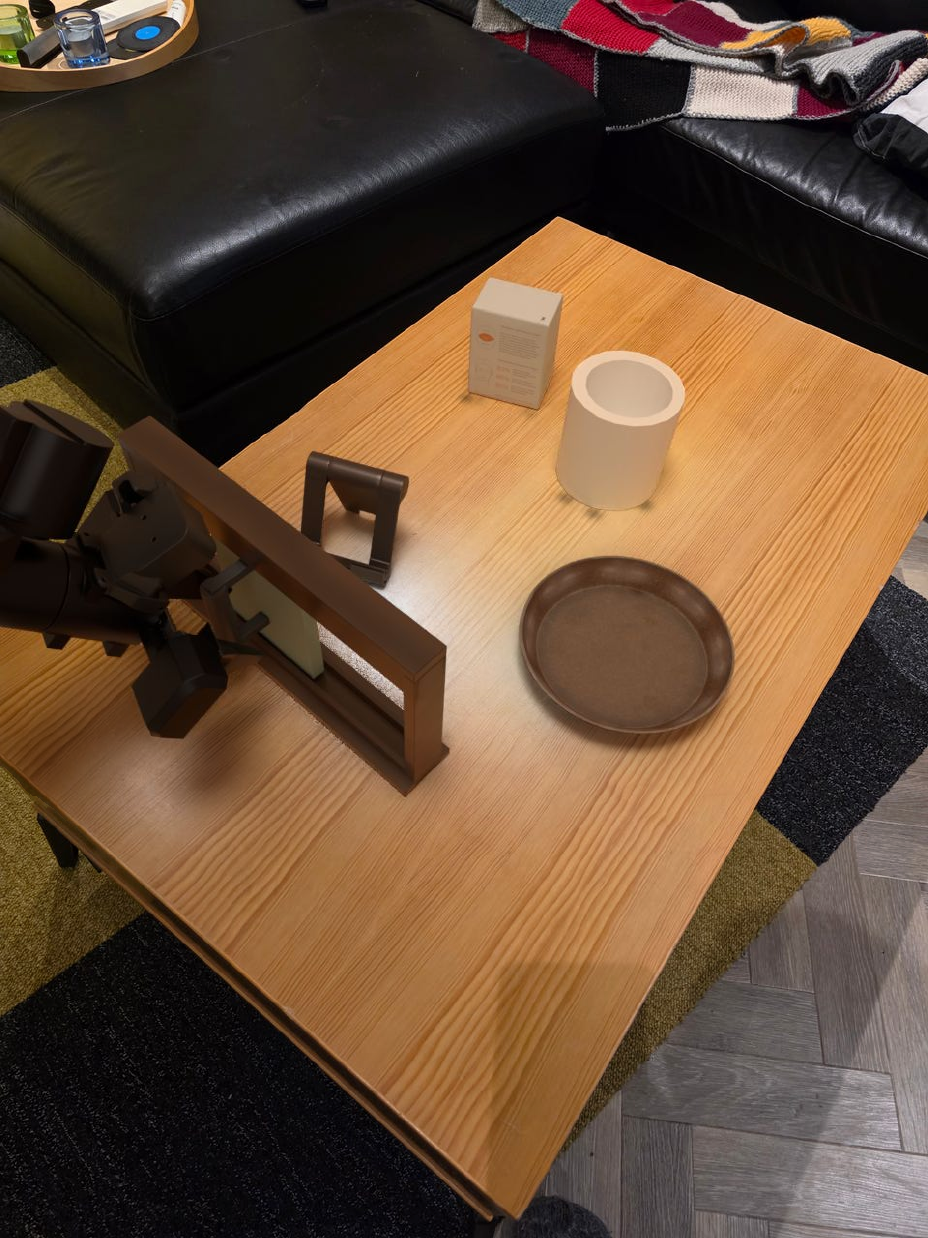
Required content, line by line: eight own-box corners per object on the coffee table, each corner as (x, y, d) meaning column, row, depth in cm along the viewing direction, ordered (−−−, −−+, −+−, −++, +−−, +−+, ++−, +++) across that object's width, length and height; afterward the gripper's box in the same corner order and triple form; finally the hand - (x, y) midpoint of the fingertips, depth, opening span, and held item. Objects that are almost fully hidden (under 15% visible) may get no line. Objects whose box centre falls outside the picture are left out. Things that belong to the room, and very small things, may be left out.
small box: (552, 379, 95) (566, 293, 86) (538, 411, 92) (550, 326, 83) (482, 360, 96) (488, 274, 87) (465, 392, 93) (470, 306, 84)
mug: (578, 406, 92) (595, 319, 84) (673, 430, 91) (701, 345, 82) (543, 493, 85) (558, 408, 76) (646, 522, 83) (673, 438, 75)
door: (271, 715, 68) (247, 626, 58) (189, 641, 72) (154, 546, 62) (324, 670, 71) (310, 578, 61) (243, 601, 74) (217, 504, 64)
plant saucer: (616, 544, 81) (623, 522, 79) (767, 670, 74) (779, 650, 72) (472, 643, 74) (474, 622, 72) (624, 794, 67) (632, 776, 64)
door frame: (405, 797, 66) (402, 685, 53) (157, 579, 77) (104, 441, 63) (449, 753, 68) (458, 636, 55) (203, 547, 79) (160, 408, 66)
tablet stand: (290, 563, 78) (278, 499, 72) (325, 502, 83) (317, 436, 76) (383, 590, 77) (380, 527, 70) (413, 527, 82) (413, 462, 75)
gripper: (159, 608, 46) (360, 646, 59) (70, 395, 56) (260, 466, 68) (56, 738, 50) (265, 748, 63) (-11, 519, 60) (183, 565, 72)
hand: (244, 624), depth 66 cm, fingers open, 6 cm apart
